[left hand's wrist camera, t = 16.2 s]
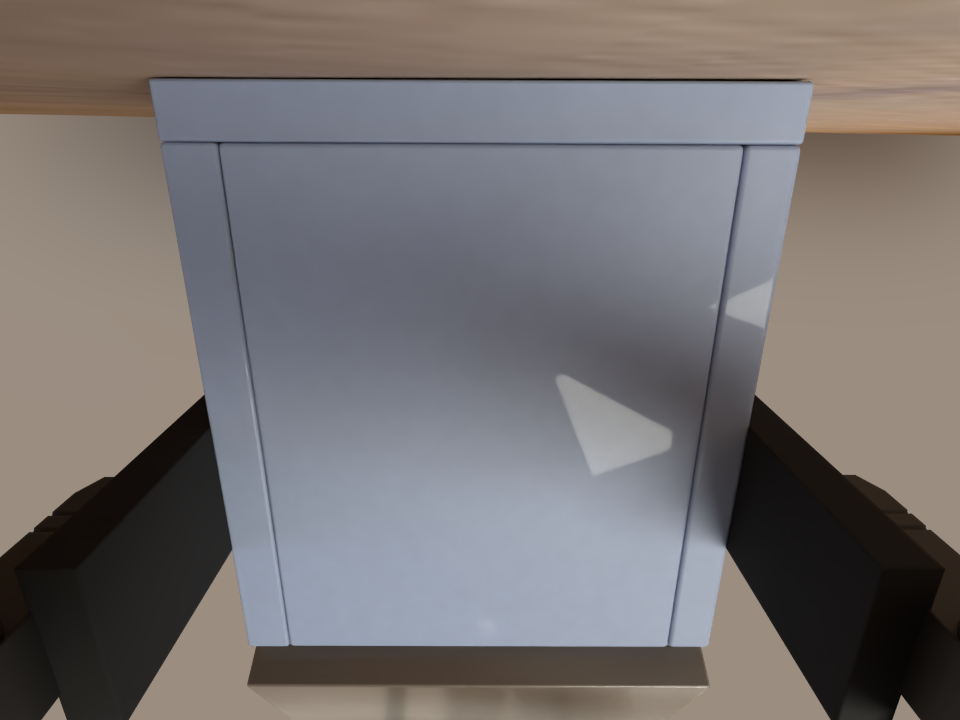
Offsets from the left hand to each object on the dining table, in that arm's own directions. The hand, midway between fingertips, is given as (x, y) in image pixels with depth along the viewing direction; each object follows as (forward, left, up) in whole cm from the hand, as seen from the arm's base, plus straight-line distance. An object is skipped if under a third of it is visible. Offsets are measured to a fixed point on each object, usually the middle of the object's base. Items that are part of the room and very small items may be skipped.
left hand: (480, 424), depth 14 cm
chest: (+3, -3, -7) cm, 8 cm away
